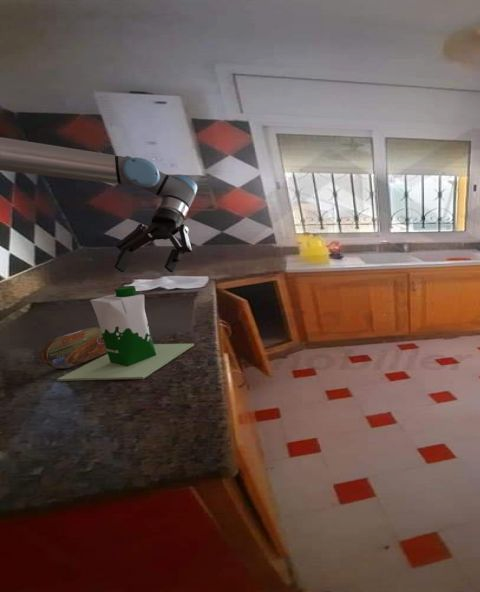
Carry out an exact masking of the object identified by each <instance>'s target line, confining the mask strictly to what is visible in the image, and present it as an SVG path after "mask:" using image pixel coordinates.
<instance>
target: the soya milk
mask: <svg viewBox="0 0 480 592" xmlns="http://www.w3.org/2000/svg"><path fill="white" fill-rule="evenodd" d="M114 291H115V293H114V294H110V295H104V296H101V297H97V298H93V299H92V298H91V299H90V300H89V301H90V304H91V306H92V308H93V311H94V313H95V316H96V319H97V322H98V327H100V329H101V333H102V336H103V340H104V343H105V346H106V350H107V353H106V354H108V356H109V360H110V362H111V363H115V364H120V365H124V366H130V365H132V364H135V363H138V362H140V361H143V360H145V359H148V358H150V357H153V356H155V355H156V352H155V348H154V345H153V344H154V341H153V338H152V334H151V330H150V326H149V321H148V318H147V314H146V309H145V294H141V293H138V292H137V290H136V286H134V285H125V286H118V287H115V288H114Z"/></svg>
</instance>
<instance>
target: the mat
mask: <svg viewBox="0 0 480 592" xmlns="http://www.w3.org/2000/svg"><path fill="white" fill-rule="evenodd" d="M153 345H154V348H155V352H156V355H155V356H153V357H150V358H148V359H145V360H143V361H140V362H138V363H135V364H132V365H130V366H124V365H120V364H115V363H111V362H110V360H109V356H108V353H105V354H103V355H101V356H99V357H97V358H95V359H94V360H92V361H90V362H88V363H86V364H84V365H82V366H80V367H78V368H76V369H74V370H72V371H70V372H67V373H66V374H64V375H61V376H60V377H57V381H58V382H63V381H64V382H67V381H68V382H69V381H108V380H109V381H111V380H145V378H147V377H149V376H150V375H152V374H153V373H154V372H156V371H158V370H159V369H161V368H162V367H164V366H165V365H168V364H169V362H172V361H173V360H174V359H176V358H177V357H179V356H180V355H182V354H183V353H185V352H186V351H188V350H189V349H191V348H192V347H194V346H195V343H153Z"/></svg>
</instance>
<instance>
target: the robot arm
mask: <svg viewBox="0 0 480 592" xmlns="http://www.w3.org/2000/svg"><path fill="white" fill-rule="evenodd" d="M0 171H1V172H2V171H3V172H10V173H11V172H12V173H20V174H29V175H36V176H46V177H54V178H62V179H72V180H80V181H90V182H99V183H106V184H117V185H122V186H123V185H124V186H132V187H137V188H140V189H143V190H144V191H147V192H149V193H152V194H154V195H156V196H157V197H160V200H159V202H158V204H157V206H156V209H155V210H154V212H153V214H152V216H151V223H150V224H149V225H145V224H143V223H138V224H137V226H136V228H135V229H133V230H132V231H131V232H130V233H129V234H127V235H126V236H125V237H123V238H122V239H121V240H120V241H119V242H118V243H116V244H115V248H117V249H118V250H119V254H118V255H117V260H116V262H115V264H114V266H113V267H114V269H116V270H117V271H119V272H120V273H125V271H126V269H127V267H128V266H129V264H130V262H131V260H132V257H133V255H134V253H133V252H135V251H136V250H138V249H139V248H141V247H143V246H145V245H146V244H148V243H150V242H154V241H157V240H158V241H160V240H164V241H167V240H168V239H169V242H171V244H172V246H173V247H174V248H172V249H171V251H170V253H169V256H168V258H167V260H166V262H165V264H164V269H166V270H167V271H168V272H169V273H174V271H175V268H176V266H177V264H178V263H179V262H180V261H181V260H182V258H183V255H184V254H186V253H191V252H192V251H193V250H192V249H193V248H192V246H191V242H190V241H191V240H190V238H189V232H190V229H189V228H188V227H187V226H186V225H185V224H184V221H185V220H186V217H187V215H188V212H189V210H190V208H191V206H192V204H193V202H194V199H195V198H196V194H197V191H198V185H197V183H196V182H195V181H194V179H192V178H190V177H189V176H187V175H182V174H175V175H173V176H171V175H169V174H166V173H164V172H163V171H161V170H159V168H158V167H157V166H156V165H155V164H154V163H153V162H151V161H150V160H148V159H146V158H142V157H137V156H136V157H132V156H130V155H125V156H121V155H116V154H109V153H104V152H98V151H90V150H85V149H78V148H77V149H76V148H71V147H65V146H59V145H53V144H46V143H39V142H33V141H27V140H22V139H21V140H20V139H15V138H9V137H1V136H0ZM178 233H179V236H180V240H181V244H180V242H179V241H178V239H177V238H176V236H175V235H176V234H178Z"/></svg>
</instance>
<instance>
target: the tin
mask: <svg viewBox="0 0 480 592" xmlns="http://www.w3.org/2000/svg"><path fill="white" fill-rule="evenodd" d="M106 354H108V353H107V350H106V346H105V343H104V340H103V336H102V333H101V329H100V326H96V327H87V328H84V329H81V330H78V331H75V332H71V333H68V334H64V335H61V336H59V337H56V338H53V339H50V340H48V341H47V342H46V343H45V344H44V345H43V347H42V348H41V350H40V359H41V361H42V363H44V364H45V365H46V366H47V367H50V368H55V369H64V370H65V369H70V368H73V367H76V366H78V365H81V364H84V363H85V362H88V361H91V360H93V359H97V358H100V357H102V356H104V355H106Z"/></svg>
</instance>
